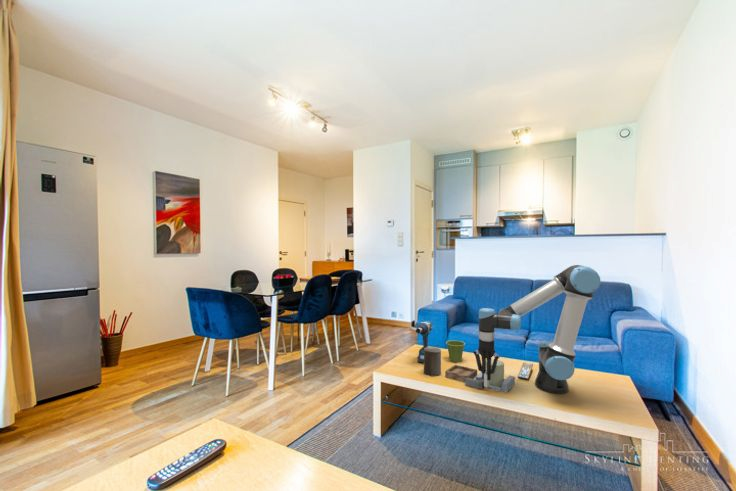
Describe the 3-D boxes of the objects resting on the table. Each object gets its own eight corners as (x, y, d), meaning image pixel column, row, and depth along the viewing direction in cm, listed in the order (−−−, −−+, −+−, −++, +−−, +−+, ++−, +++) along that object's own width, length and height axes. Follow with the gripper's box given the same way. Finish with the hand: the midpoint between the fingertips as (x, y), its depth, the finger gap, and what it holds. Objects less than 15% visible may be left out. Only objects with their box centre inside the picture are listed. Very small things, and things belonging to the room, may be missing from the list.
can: (489, 379, 186) (489, 357, 186) (506, 383, 180) (506, 361, 180) (482, 384, 179) (482, 361, 179) (500, 389, 173) (500, 365, 173)
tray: (477, 375, 190) (477, 369, 190) (467, 383, 180) (467, 376, 180) (455, 370, 198) (455, 364, 198) (445, 377, 188) (445, 370, 188)
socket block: (515, 383, 180) (515, 376, 180) (506, 393, 168) (506, 385, 168) (485, 376, 190) (485, 369, 190) (474, 384, 178) (474, 377, 178)
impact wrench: (411, 366, 205) (411, 325, 205) (423, 355, 225) (423, 318, 225) (424, 368, 201) (424, 326, 201) (435, 357, 221) (435, 319, 221)
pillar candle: (425, 376, 190) (426, 349, 189) (422, 370, 199) (422, 344, 199) (442, 376, 190) (443, 349, 190) (438, 370, 200) (439, 344, 200)
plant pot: (453, 356, 224) (453, 339, 224) (468, 361, 215) (468, 343, 215) (441, 360, 216) (441, 342, 216) (457, 365, 207) (457, 346, 207)
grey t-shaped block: (484, 387, 174) (484, 380, 174) (481, 389, 171) (481, 382, 171) (467, 382, 180) (467, 375, 180) (464, 385, 177) (464, 378, 177)
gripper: (502, 340, 171) (501, 387, 171) (476, 335, 179) (476, 380, 179) (497, 343, 165) (496, 392, 165) (471, 338, 173) (470, 385, 173)
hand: (486, 386), depth 172 cm, fingers closed
